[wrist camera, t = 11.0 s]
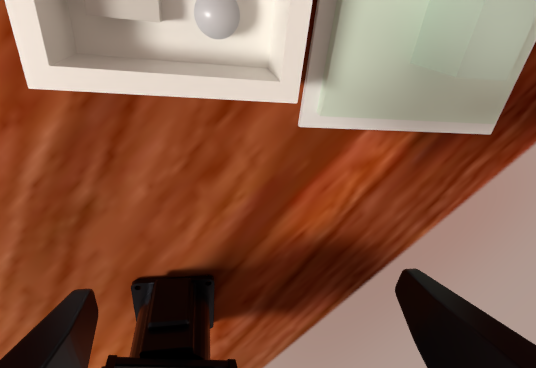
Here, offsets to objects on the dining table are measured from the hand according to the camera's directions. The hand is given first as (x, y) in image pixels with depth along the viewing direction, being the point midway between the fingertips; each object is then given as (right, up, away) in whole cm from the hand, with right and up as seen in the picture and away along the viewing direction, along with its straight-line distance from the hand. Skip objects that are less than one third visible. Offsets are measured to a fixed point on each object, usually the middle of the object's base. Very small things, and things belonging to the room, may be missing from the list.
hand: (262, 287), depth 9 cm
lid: (+10, +13, +9) cm, 19 cm away
